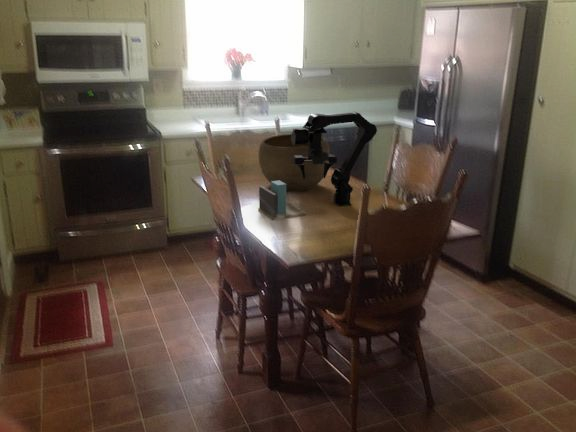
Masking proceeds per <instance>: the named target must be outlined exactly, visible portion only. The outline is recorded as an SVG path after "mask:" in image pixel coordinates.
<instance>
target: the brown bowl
mask: <svg viewBox="0 0 576 432" xmlns="http://www.w3.org/2000/svg"><path fill="white" fill-rule="evenodd" d="M291 135H292V133H284V134H277V135H273V136H270V137H267V138H265V139H263V140H262V141H261V142H260V145H259V150H258V163H259V166H260V169H261V171H262V174H263V176H264V177H265V179H266V180H267V181H268V182H269V183H270V184H271V181H278V180H280V181H281V182H283V183H285V184H286V191H288V192H289V191H290V192H298V191H299V192H301V191H306V190H310V189H312V188H313V187H315V186H316V185H318V184H319V183H320V182H322V180H323V179H325V178H324V164H313V162H304V163H303V164H304V165H305V167H304V170H305V179H304V178H303V175H302V172H301V169H300V167H299V166H297V165H296V164H294V162H293V156H295V155H302V156H303V157H308V153H309V147H308V145H309V141H308V143H307V144H300V145H293V144H292V141H291ZM322 151H323V152H328V153H329V154H331V151H330V145H329V143H328V140H327V139H326V138H325V137H324V136H322ZM310 160H312V159H310ZM324 162H325V161H324Z"/></svg>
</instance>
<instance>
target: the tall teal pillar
mask: <svg viewBox="0 0 576 432" xmlns="http://www.w3.org/2000/svg"><path fill="white" fill-rule="evenodd" d="M270 191H271V192H273V193H275V194H276V195H277V199H276V214H277V215H279V214H285V213H286V204H287V190H286V184H285V183H283V182H281V181H280V180H278V181H271V183H270Z"/></svg>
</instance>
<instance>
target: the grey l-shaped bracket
mask: <svg viewBox="0 0 576 432" xmlns="http://www.w3.org/2000/svg"><path fill="white" fill-rule="evenodd" d="M258 188H259V191H258V192H259V201H258V203H259V204H258V205H259V208H257V209H258V210H257V211H259V213H260V214H262V215H264V216H265V217H267V218H269V219H270V220H271V221H276V220H277V221H278V220H284V219H288V218H294V217H301V216H306V212H305V211H303V210H302V209H301V208H299V207H297V206H295V205H293V204H292V203H286V213H285V214H279V215H277V214H276V199H277V195H276V194H275V193H273V192H271V189H270V190H269V189H267V188H266V187H264V186H263V185H259V187H258Z"/></svg>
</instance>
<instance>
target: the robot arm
mask: <svg viewBox="0 0 576 432" xmlns="http://www.w3.org/2000/svg"><path fill="white" fill-rule="evenodd" d="M348 123H354V124H355V126H356V127H357V131H356V140H355V141H354V143H353V145H352V147H351V149H350V150H349V152H348V154H347V156H346V157H345V160H344V161H343V163H342V165H341V167H339V168H334V171H333V173H332V174H330V177H331V178H330V183H331V184H332V186H334V189H335V192H334V197H333V202H334V204H335V205H336V206H338V207H339V206H351V205H352V203H351V193H352V192H353V190H354V188H353V187H352V186H351V185H350V184H349V182H350V179H351V174H352V173H351V172H352V170H353V168H354V167H355V165H356V164H357V161H358V159H359V157H360V156H361V154H362V152H363V150H364V148H365V147H366V145H367V144H368V143H369V142H371V141H372V140H373V138H374V137H375V136H376V134H377V132H378V128H377V125H376V124H374V123H371V122H369V121H368V120H367V119H366V118H365V117H363V115H362V114H361V113H359V112H356V111H352V112H345V113H334V114H324V113H322V114H321V113H311V114H310V115H308V117H307V121H306V122H305V124H304V125H303V126H302V128H293V129H292V132H291V134H292V135H291V141H292V144H293V145H300V144H307V143H308V141H309V145H308V147H309V153H308V157H303V156H302V155H295V156H293V162H294V164H296V165H297V166H299V167H300V169H301V172H302V175H303V178H304V179H305V170H304V167H305V165H304V164H303V163H304V162H313V164H324V178H323V179H326V178H327V177H326V176H327V175H328V173H329V169H330V168H331V166H334V165H335V164H337V163H338V158H337V156H335V155H334V154H333V153H332V154H331V153H330V154H329V153H328V152H323V151H322V137H323V134H327V133H328V131H327V130H326V129H325V128H326V127H328V126H332V125H339V124H348ZM310 159H312V160H310ZM324 161H325V162H324Z"/></svg>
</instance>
